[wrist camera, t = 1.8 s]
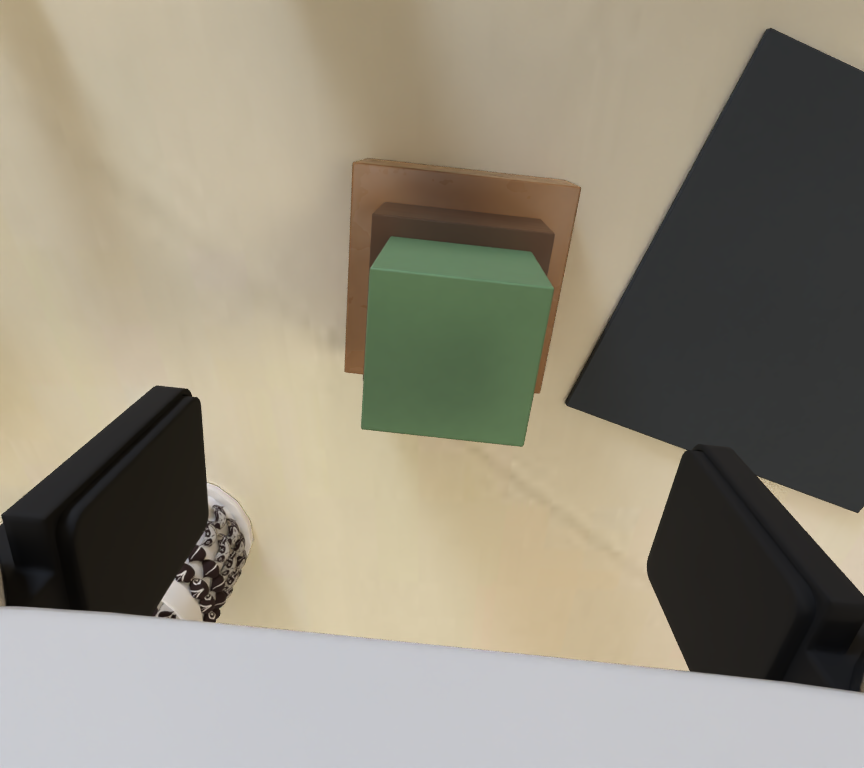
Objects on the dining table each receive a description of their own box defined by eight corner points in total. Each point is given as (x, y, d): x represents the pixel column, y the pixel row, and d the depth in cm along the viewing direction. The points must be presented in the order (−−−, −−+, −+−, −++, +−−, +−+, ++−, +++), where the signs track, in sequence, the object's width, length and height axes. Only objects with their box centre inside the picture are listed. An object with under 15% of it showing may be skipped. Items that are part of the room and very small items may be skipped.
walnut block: (541, 218, 25) (555, 233, 21) (515, 363, 28) (524, 398, 24) (384, 201, 25) (372, 213, 21) (375, 348, 28) (362, 381, 24)
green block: (532, 251, 21) (554, 287, 16) (509, 381, 24) (523, 447, 19) (390, 235, 21) (369, 267, 16) (381, 367, 24) (360, 429, 19)
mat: (1124, 197, 27) (1133, 198, 27) (853, 509, 35) (858, 513, 35) (766, 29, 25) (771, 27, 24) (564, 402, 33) (566, 405, 32)
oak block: (565, 179, 28) (581, 186, 24) (530, 364, 32) (540, 394, 28) (366, 157, 28) (352, 161, 24) (357, 345, 32) (344, 372, 28)
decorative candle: (225, 600, 40) (-73, 1202, 18) (104, 541, 39) (-401, 1127, 16) (282, 516, 37) (6, 1127, 14) (153, 447, 35) (-398, 1021, 13)
